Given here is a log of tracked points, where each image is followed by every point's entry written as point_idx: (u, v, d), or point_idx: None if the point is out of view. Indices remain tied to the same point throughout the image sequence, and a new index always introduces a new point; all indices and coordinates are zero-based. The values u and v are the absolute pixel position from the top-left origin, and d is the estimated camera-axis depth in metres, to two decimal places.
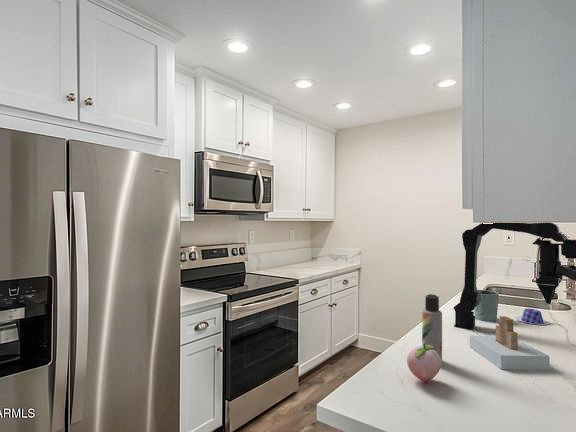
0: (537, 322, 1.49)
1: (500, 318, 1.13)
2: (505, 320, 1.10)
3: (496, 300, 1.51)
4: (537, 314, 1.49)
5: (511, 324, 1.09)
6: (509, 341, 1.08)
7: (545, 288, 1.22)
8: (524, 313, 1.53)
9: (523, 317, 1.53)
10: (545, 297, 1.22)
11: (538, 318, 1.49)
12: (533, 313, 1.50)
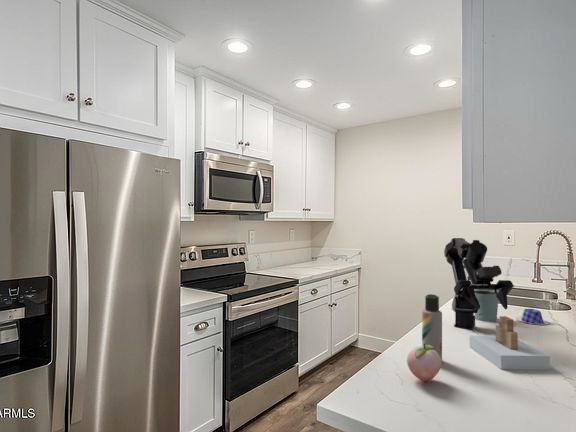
0: (537, 322, 1.49)
1: (500, 318, 1.13)
2: (505, 320, 1.10)
3: (496, 300, 1.51)
4: (537, 314, 1.49)
5: (511, 324, 1.09)
6: (509, 341, 1.08)
7: (469, 296, 1.24)
8: (524, 313, 1.53)
9: (523, 317, 1.53)
10: (473, 304, 1.22)
11: (538, 318, 1.49)
12: (533, 313, 1.50)
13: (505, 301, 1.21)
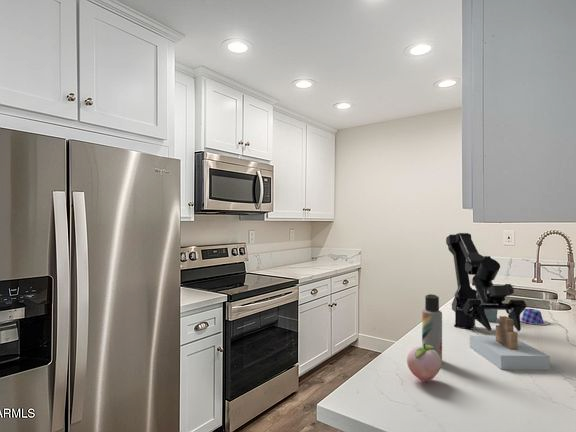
0: (537, 322, 1.49)
1: (500, 318, 1.13)
2: (505, 320, 1.10)
3: None
4: (537, 314, 1.49)
5: (511, 324, 1.09)
6: (509, 341, 1.08)
7: (479, 316, 1.16)
8: (524, 313, 1.53)
9: (523, 317, 1.53)
10: (484, 325, 1.14)
11: (538, 318, 1.49)
12: (533, 313, 1.50)
13: (518, 322, 1.13)
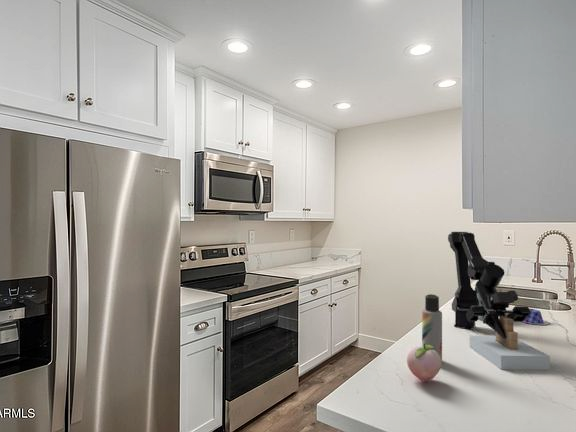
0: (537, 322, 1.49)
1: (500, 318, 1.13)
2: (505, 320, 1.10)
3: None
4: (537, 314, 1.49)
5: (511, 324, 1.09)
6: (509, 341, 1.08)
7: (493, 323, 1.14)
8: None
9: None
10: (498, 332, 1.12)
11: (538, 318, 1.49)
12: (532, 313, 1.50)
13: None
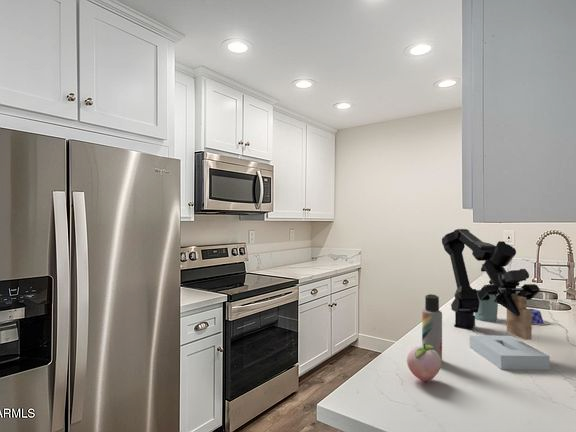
0: (536, 322, 1.49)
1: (512, 297, 1.14)
2: (518, 298, 1.11)
3: None
4: (536, 314, 1.49)
5: (525, 302, 1.11)
6: (523, 319, 1.09)
7: (505, 301, 1.15)
8: None
9: None
10: (511, 310, 1.13)
11: (537, 318, 1.49)
12: (532, 313, 1.50)
13: None
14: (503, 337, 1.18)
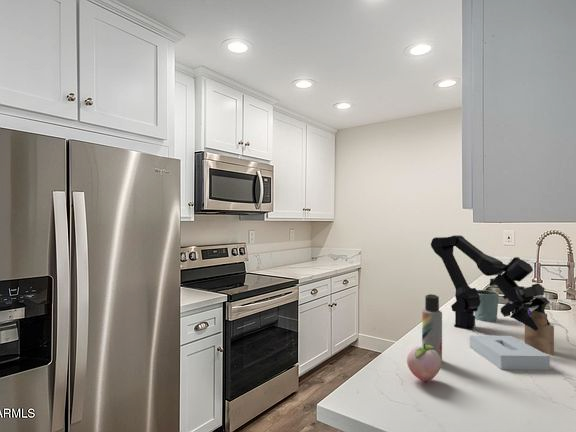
0: None
1: (532, 313, 1.19)
2: (541, 315, 1.17)
3: (496, 300, 1.51)
4: None
5: (546, 318, 1.16)
6: (547, 335, 1.15)
7: (521, 316, 1.19)
8: None
9: None
10: (528, 325, 1.17)
11: None
12: None
13: None
14: (503, 337, 1.18)
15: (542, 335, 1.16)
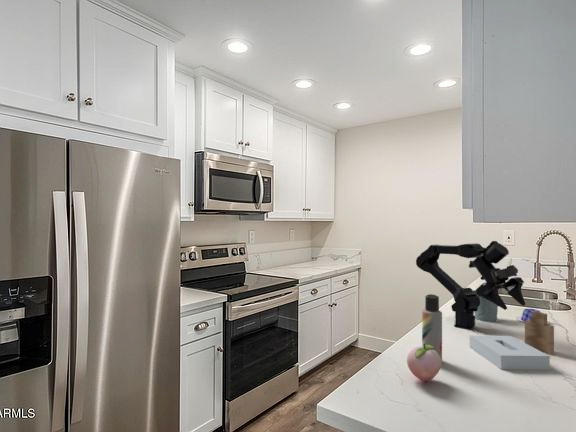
0: None
1: (532, 313, 1.19)
2: (541, 315, 1.17)
3: None
4: None
5: (546, 318, 1.16)
6: (547, 334, 1.15)
7: (492, 297, 1.27)
8: (523, 313, 1.54)
9: (522, 316, 1.54)
10: (498, 305, 1.26)
11: None
12: (530, 313, 1.50)
13: (522, 298, 1.28)
14: (503, 337, 1.18)
15: (542, 335, 1.16)
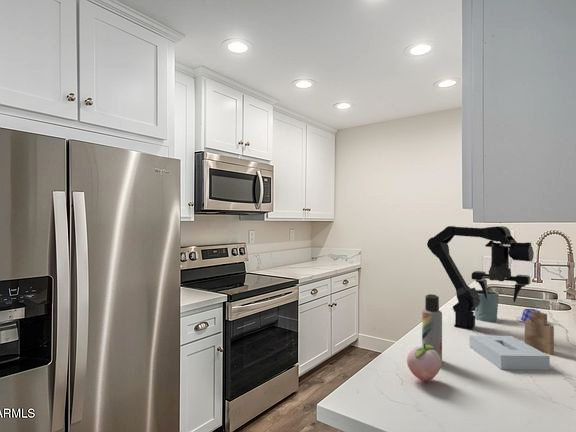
0: None
1: (532, 313, 1.19)
2: (541, 315, 1.17)
3: (496, 300, 1.51)
4: None
5: (546, 318, 1.16)
6: (547, 335, 1.15)
7: None
8: (523, 312, 1.54)
9: (522, 316, 1.54)
10: None
11: None
12: (530, 313, 1.50)
13: (514, 296, 1.30)
14: (503, 337, 1.18)
15: (542, 335, 1.16)
